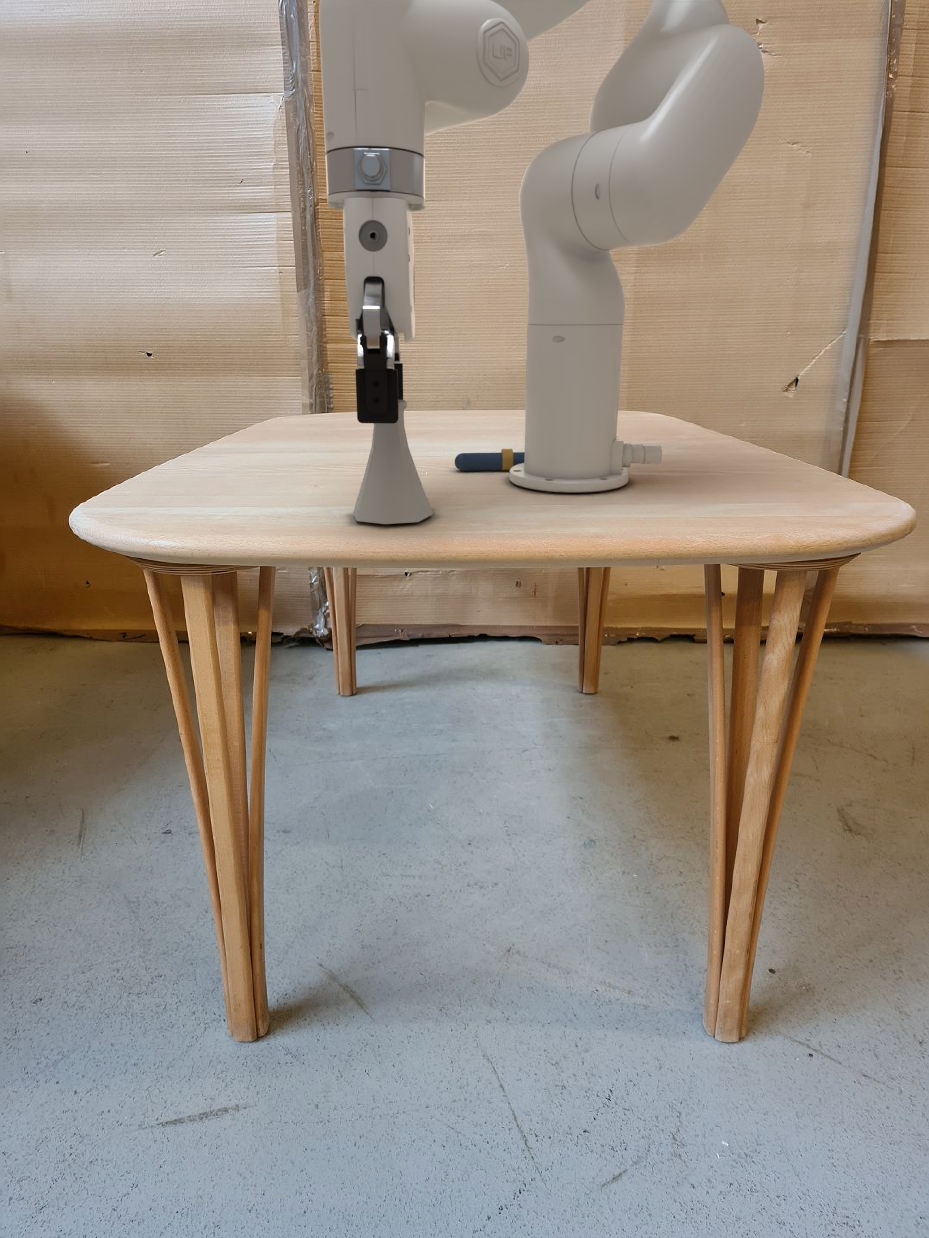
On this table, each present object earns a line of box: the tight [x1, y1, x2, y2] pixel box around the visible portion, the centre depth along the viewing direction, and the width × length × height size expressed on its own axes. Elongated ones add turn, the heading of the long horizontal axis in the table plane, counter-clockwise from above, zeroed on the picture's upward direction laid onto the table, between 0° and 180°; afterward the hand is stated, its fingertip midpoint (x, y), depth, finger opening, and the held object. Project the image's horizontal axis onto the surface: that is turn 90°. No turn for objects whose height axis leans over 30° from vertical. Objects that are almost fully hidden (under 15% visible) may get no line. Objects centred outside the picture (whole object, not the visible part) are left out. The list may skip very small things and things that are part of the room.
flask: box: [352, 399, 434, 525], centre depth 66 cm, size 7×7×10 cm
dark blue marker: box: [454, 448, 525, 472], centre depth 87 cm, size 12×2×2 cm, turn 92°
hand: (382, 415), depth 64 cm, fingers open, 9 cm apart
